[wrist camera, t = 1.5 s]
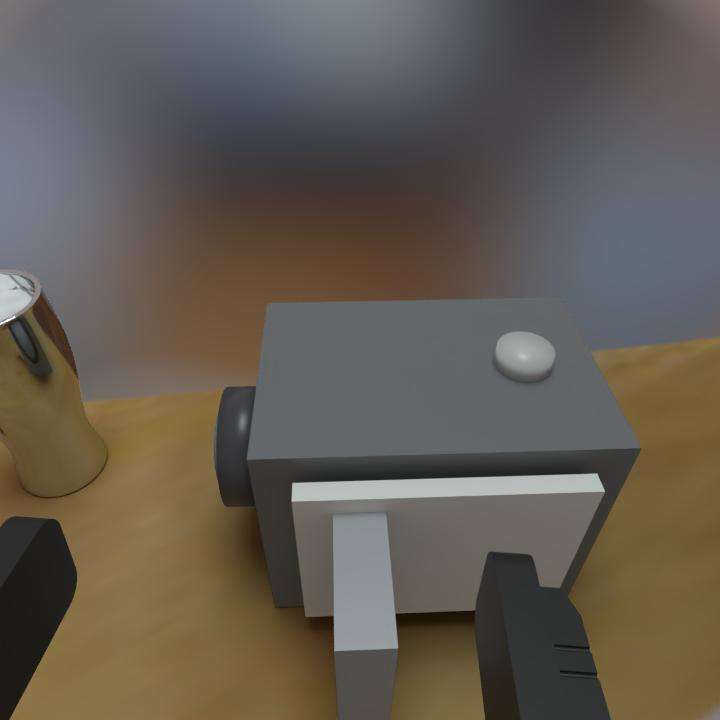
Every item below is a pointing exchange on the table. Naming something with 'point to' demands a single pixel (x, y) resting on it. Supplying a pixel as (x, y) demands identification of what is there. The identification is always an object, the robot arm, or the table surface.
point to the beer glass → (42, 394)
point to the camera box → (415, 408)
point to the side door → (421, 557)
